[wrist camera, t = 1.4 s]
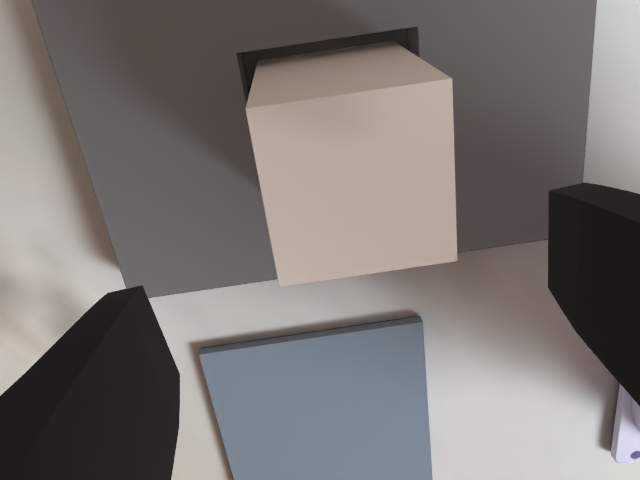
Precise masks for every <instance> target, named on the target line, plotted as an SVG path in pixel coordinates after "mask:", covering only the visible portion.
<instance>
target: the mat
mask: <svg viewBox="0 0 640 480" xmlns="http://www.w3.org/2000/svg"><path fill="white" fill-rule="evenodd" d="M199 358H200V361H201V365H202V368H203V372H204V375H205V379H206V383H207V386H208V390H209V393H210V397H211V400H212V404H213V407H214V411H215V415H216V418H217V422H218V425H219V429H220V432H221V436H222V440H223V443H224V447H225V450H226V454H227V457H228V461H229V465H230V468H231V472H232V475H233V479H234V480H432V465H431V449H430V433H429V417H428V401H427V385H426V369H425V353H424V337H423V322H422V319H421V317H413V318H406V319H399V320H392V321H385V322H379V323H372V324H365V325H358V326H351V327H345V328H338V329H331V330H324V331H317V332H311V333H304V334H297V335H290V336H283V337H277V338H270V339H263V340H256V341H249V342H243V343H236V344H229V345H222V346H215V347H208V348H202V349H200V351H199Z"/></svg>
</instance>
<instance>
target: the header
mask: <svg viewBox="0 0 640 480" xmlns="http://www.w3.org/2000/svg"><path fill="white" fill-rule="evenodd" d="M32 3H33V6H34V9H35V12H36V15H37V18H38V22H39V25H40V28H41V31H42V34H43V37H44V40H45V43H46V46H47V49H48V52H49V55H50V58H51V61H52V64H53V67H54V70H55V73H56V76H57V79H58V82H59V85H60V88H61V91H62V94H63V97H64V101H65V104H66V107H67V110H68V113H69V116H70V119H71V122H72V125H73V128H74V131H75V134H76V137H77V140H78V143H79V146H80V149H81V152H82V155H83V158H84V161H85V164H86V167H87V170H88V173H89V176H90V180H91V183H92V186H93V189H94V192H95V195H96V198H97V201H98V204H99V207H100V210H101V213H102V216H103V219H104V222H105V225H106V228H107V231H108V234H109V237H110V240H111V243H112V246H113V249H114V252H115V255H116V259H117V262H118V265H119V268H120V271H121V274H122V277H123V280H124V283H125V286H126V289H128V288H132V287H136V286H141V285H143V288H144V290H145V292H146V295H147V297H148V298H152V297H159V296H166V295H172V294H179V293H186V292H193V291H200V290H206V289H213V288H220V287H227V286H234V285H240V284H247V283H254V282H261V281H268V280H274V279H278V277H277V272H276V267H275V261H274V256H273V251H272V245H271V240H270V235H269V230H268V224H267V219H266V214H265V209H264V203H263V198H262V193H261V188H260V182H259V177H258V172H257V167H256V161H255V156H254V151H253V146H252V140H251V135H250V130H249V125H248V119H247V114H246V105H247V101H248V97H249V96H248V90H247V85H246V79H245V74H244V69H243V63H242V58H241V52H248V51H254V50H261V49H268V48H275V47H282V46H288V45H295V44H302V43H309V42H316V41H322V40H329V39H336V38H343V37H350V36H356V35H363V34H370V33H377V32H384V31H390V30H397V29H404V28H408V36H409V51H410V52H411V53H413V54H415V55H416V56H418V57H419V58H421V59H422V60H424V61H426V62H427V63H429V64H430V65H432V66H433V67H435V68H437V69H438V70H440V71H441V72H443V73H444V74H446V75H448V76H449V77H451V78H452V86H453V122H454V157H455V193H456V229H457V253H458V252H465V251H472V250H479V249H485V248H492V247H499V246H506V245H513V244H519V243H526V242H533V241H540V240H547V239H548V212H549V190H554V189H558V188H562V187H567V186H571V185H575V184H579V183H583V171H584V158H585V145H586V132H587V119H588V106H589V93H590V80H591V67H592V54H593V41H594V29H595V16H596V3H597V0H32Z"/></svg>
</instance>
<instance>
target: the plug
mask: <svg viewBox="0 0 640 480" xmlns="http://www.w3.org/2000/svg"><path fill="white" fill-rule="evenodd" d="M246 114H247V119H248V125H249V130H250V135H251V140H252V146H253V151H254V156H255V161H256V167H257V172H258V177H259V182H260V188H261V193H262V198H263V203H264V209H265V214H266V219H267V224H268V230H269V235H270V240H271V245H272V251H273V256H274V261H275V267H276V272H277V277H278V282H279V287H284V286H291V285H298V284H305V283H311V282H318V281H325V280H332V279H339V278H346V277H352V276H359V275H366V274H373V273H380V272H387V271H394V270H400V269H407V268H414V267H421V266H428V265H435V264H441V263H448V262H455V261H457V229H456V193H455V157H454V122H453V86H452V78H451V77H449V76H448V75H446V74H444V73H443V72H441V71H440V70H438V69H437V68H435V67H433V66H432V65H430V64H429V63H427V62H426V61H424V60H422V59H421V58H419V57H418V56H416V55H415V54H413V53H411V52H410V51H408V50H407V49H405V48H404V47H402V46H400V45H399V44H397V43H396V42H394V41H388V42H381V43H374V44H368V45H361V46H354V47H347V48H340V49H334V50H327V51H320V52H313V53H306V54H300V55H293V56H286V57H279V58H272V59H266V60H259V61H258V62H257V66H256V70H255V74H254V78H253V82H252V86H251V89H250V93H249V97H248V101H247V105H246Z"/></svg>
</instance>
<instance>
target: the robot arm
mask: <svg viewBox="0 0 640 480" xmlns="http://www.w3.org/2000/svg"><path fill="white" fill-rule="evenodd" d="M548 288H549V290H550V291H551V293H552V295H553V296H554V298H555V299H556V301H557V303H558V304H559V306H560V308H561V309H562V311H563V313H564V314H565V316H566V317H567V319H568V320H569V322H570V323H571V325H572V326H573V328H574V329H575V331H576V332H577V333H578V335H579V336H580V337H581V338H582V340H583V341H584V342H585V343H586V344H587V346H588V347H589V348H590V349H591V350H592V351H593V353H594V354H595V355H596V356H597V357H598V359H599V360H600V361H601V362H602V363H603V364H604V366H605V367H606V368H607V369H608V370H609V371H610V373H611V374H612V375H613V376H614V377H615V378H616V380H617V381H618V382H619V383H620V385H619V393H618V400H617V408H616V416H615V424H614V431H613V439H612V447H611V456H612V457H613V459H614V460H615V461H616V462H617V463H620V464H625V463H632V462H638V461H640V194H637V193H633V192H629V191H624V190H620V189H616V188H611V187H606V186H601V185H596V184H589V183H579V184H575V185H571V186H567V187H562V188H558V189H554V190H549V212H548ZM179 408H180V374H179V371H178V369H177V367H176V364H175V362H174V359H173V357H172V355H171V352H170V350H169V347H168V345H167V343H166V340H165V338H164V335H163V333H162V331H161V328H160V326H159V323H158V321H157V319H156V316H155V314H154V312H153V309H152V307H151V304H150V302H149V300H148V297H147V295H146V292H145V290H144V288H143V285H141V286H136V287H132V288H128V289H124V290H119V291H115V292H111V293H107V294H106V295H105V296H104V297H102V298H101V299H100V300H99V301H98V302H97V303H95V304H94V305H93V306H92V307H91V308H90V309H89V310H88V311H87V312H86V313H85V314H84V315H83V316H82V317H81V318H80V319H79V320H78V321H77V322H76V323H75V324H74V325H73V326H72V327H71V328H70V329H69V330H68V331H67V332H66V333H65V334H64V335H63V336H62V337H61V338H60V339H59V340H58V341H57V342H56V343H55V344H54V345H53V346H52V347H51V348H50V349H49V350H48V351H47V352H46V353H45V354H44V355H43V356H42V357H41V358H40V359H39V360H38V361H37V362H36V363H35V364H34V365H33V366H32V367H31V368H30V369H29V370H28V371H27V372H26V373H25V374H24V375H23V376H21V377H20V378H19V379H18V380H17V381H16V382H15V383H14V384H13V385H12V386H11V387H10V388H9V389H7V390H6V391H5V392H4V393H3V394H2V395H1V396H0V480H171V476H172V470H173V463H174V456H175V450H176V443H177V436H178V429H179Z"/></svg>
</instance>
